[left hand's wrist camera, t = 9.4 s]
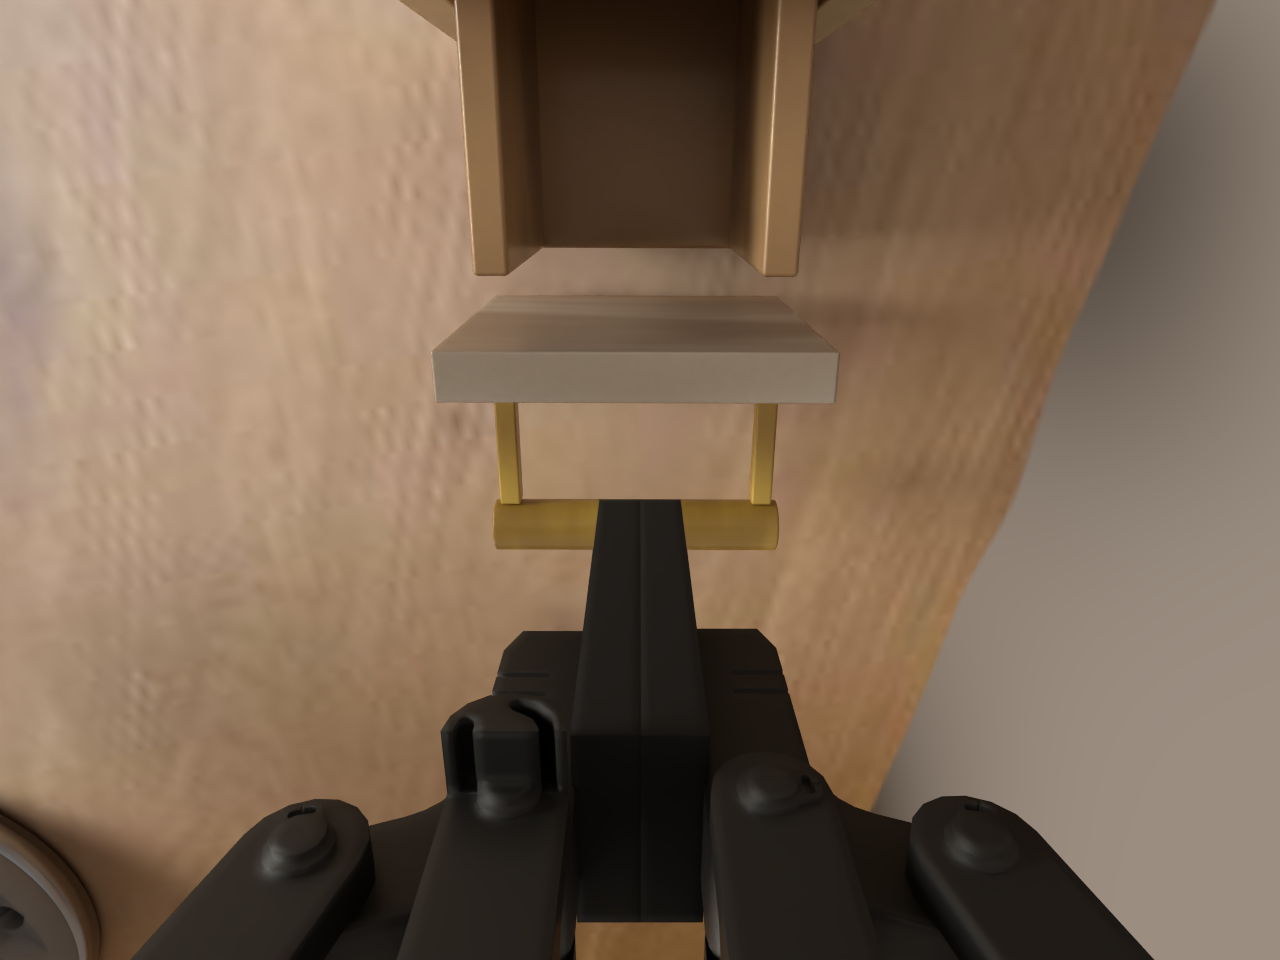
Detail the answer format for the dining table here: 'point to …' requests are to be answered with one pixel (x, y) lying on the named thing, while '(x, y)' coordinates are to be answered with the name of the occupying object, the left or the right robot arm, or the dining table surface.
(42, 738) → the dining table surface
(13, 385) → the dining table surface
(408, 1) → the cabinet
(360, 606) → the dining table surface
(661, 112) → the drawer
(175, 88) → the dining table surface
